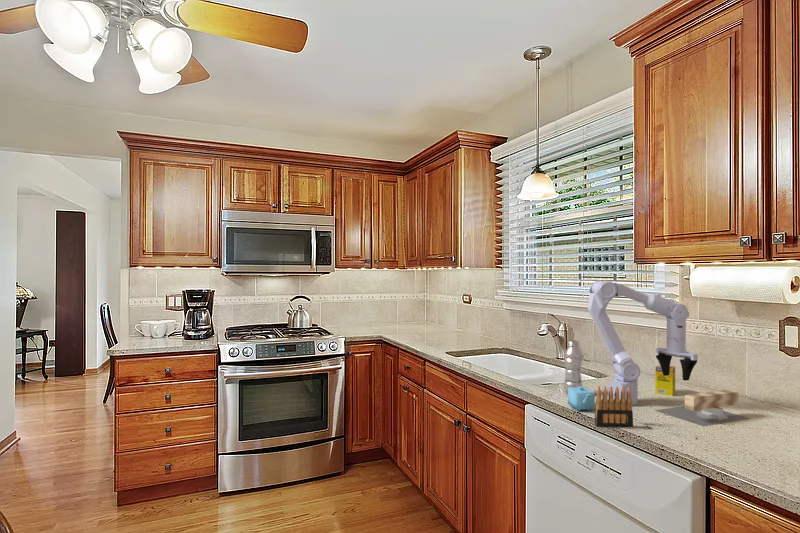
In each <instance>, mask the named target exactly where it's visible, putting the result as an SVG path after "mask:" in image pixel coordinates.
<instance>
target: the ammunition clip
mask: <svg viewBox="0 0 800 533" xmlns="http://www.w3.org/2000/svg"><path fill="white" fill-rule="evenodd" d="M607 390H608V391H607ZM594 410H595V412H594V426H595V427H598V428H624V429H625V427H633V428H634V419H633V418H634V416H633V415H634V412H633V405H632V399H631V390H630V387H628V389H627V399H625V390H624V387H622V389H621V399H619V389H618V387H616V389H615V399H613V389H612V386H611V387H610V389H609V388H608V389H607V387H606V386H603V390H602V391H601V387H600V385H599V386H598V387H597V389H596V397H595V409H594Z"/></svg>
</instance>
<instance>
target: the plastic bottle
mask: <svg viewBox="0 0 800 533" xmlns="http://www.w3.org/2000/svg"><path fill="white" fill-rule="evenodd" d="M563 359H564V366H565V367H564V368H565V376H564V382H563V389H564V391H565V393H566V394H568V388H572V387H579V386H582V387H584V386H583V383H582V361H583V354H582V352H581V350H580V349H579V340H574V339H570V340H568V341H567V348H566V349H565V351H564V353H563Z"/></svg>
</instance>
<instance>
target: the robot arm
mask: <svg viewBox="0 0 800 533" xmlns="http://www.w3.org/2000/svg"><path fill="white" fill-rule="evenodd" d="M615 297H624V298H627V299H629V300H633V301H635V302H637V303H641V304H643V306H644V307H645V309H646V310H648V311H651V312H653V313H655V314H658V315H661V316H664V317H665V318H666V347H665V348H664V347H656V348H655V353H656V355H655V357H656V359H657V361H658V364H659V365H661V368H662V372H663V375H664V376H668V375H669V373H670V366H671V360H672V358H673V357H675V358H680V359H679V363H680V366H681V371H682V374H681V375H682V380H683V381H690V377H691V374H692V372H693V370H694V367H695V366H696V365H697V363H698V358H699V357H698V353H693V352H689V351H687V350H686V348H687V347H686V346H687V345H686V344H687V341H686V336H687V335H686V332H687V329H686V328H687V324H686V322H687V319H688V318H689V316H690V311H689V310H688V308H687V307H686V305H685V304H682V303H677V302H675V300H674V299H667V298H665V297H662V294H660V293H658V292H657V293H655V294H654V293H651V294H645V293H643V292H640V291H638V290H636V289H634V288H631V287H629V286H627V285H625V284H621V283H616V282H613V281H610V280H601V279H600V280H596V281H594V282H592V284H591V286H590V288H589V289H588V305H587V310H588V312H589V314H590V316H591V319H592V320H593V322H594V324H595V326H596V329H597V330H598V332H599V334H600V336H601V338H602V340H603V342H604V344H605V346H606V348H607V350H608V351H609V353H610V359H611V362H612V370H613V371H614V373H615V375H614V379H613V380H612V382H610V383H609V385H608V390H609V389H610V387H611V386H612V389H613V399H615V389H616V387H618V389H619V399H621V389H622V387H624V390H625V399H627V389H628V387H630V390H631V399H632V406H635V405H638V395H639V394H638V385H639V384H638V383H639V381H638V380H639V379H638V378H639V377H640V376H641V369H640V367H639V365H638V363H635V362H634V360H633V359H632V357H631V355H629V353H628V352H627V351H626V348H625V347H624V344H623V343H622V341H621V338H620V337H619V336H618V334H617V331H616V328H615V327H614V325H613V323H612V321H611V319H610V317H609V315H608V314H607V311H606V309H607V307H608V305H609V303H610V302H611V301H612V300H613V299H614V298H615Z"/></svg>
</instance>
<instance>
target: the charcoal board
mask: <svg viewBox="0 0 800 533" xmlns="http://www.w3.org/2000/svg"><path fill="white" fill-rule="evenodd" d="M654 411H655V412H658V413H661V414H665V415H666V416H671V417H673V418H676V419H678V420H679V419H680V420H682V421H686V422H688V423H692V424H694V425H695V424H696V425H697V426H700V427H708V426H714V425H721V424H726V423H733V422H738V421H745V420H751V419H752V418H750V417H747V416H744V415H739V414H736V413H734V412H731V411H730V412H729V411H726V410H724V412H723V415H724V416H727V417H728V420H725V421H719V422H718V421H714V420H711V419H708V418H705V417H701V416H698V415H697V412H699V411H701V410H697V411H692V410H689V409H686V408H685V405H683V406H676V407H670V408H662V409H661V408H660V409H655V410H654Z"/></svg>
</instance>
